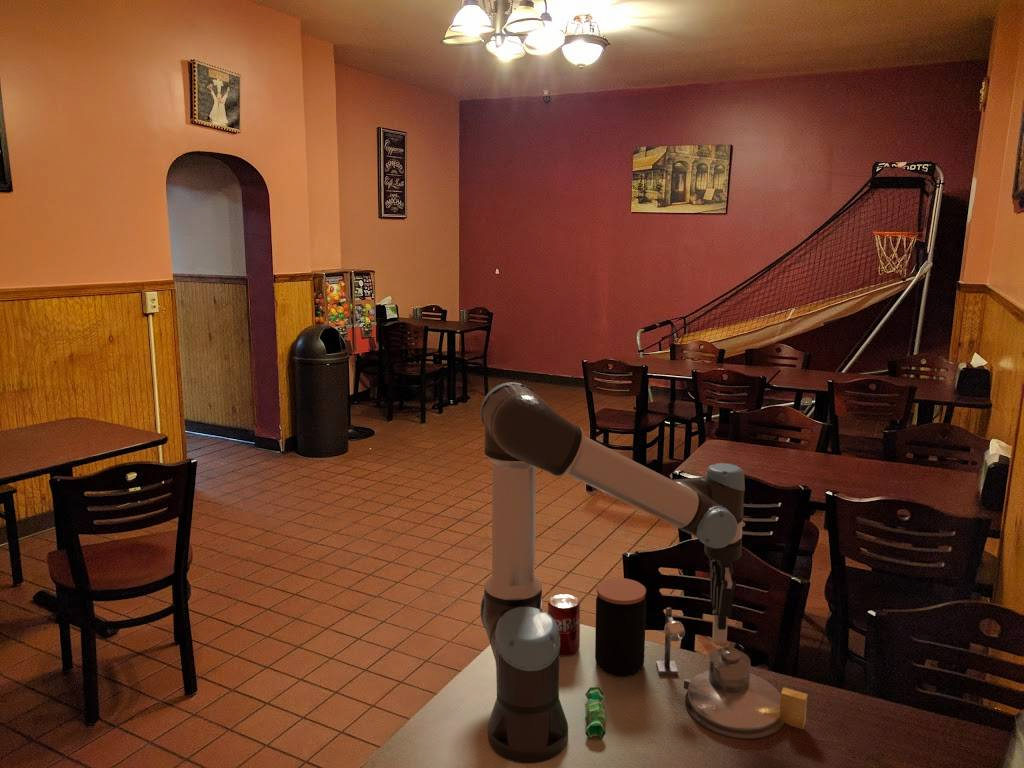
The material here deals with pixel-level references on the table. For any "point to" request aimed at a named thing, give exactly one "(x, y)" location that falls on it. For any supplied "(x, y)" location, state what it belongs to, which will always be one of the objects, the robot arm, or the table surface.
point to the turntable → (746, 705)
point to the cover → (729, 670)
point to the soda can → (566, 622)
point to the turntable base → (728, 733)
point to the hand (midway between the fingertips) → (719, 639)
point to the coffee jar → (620, 626)
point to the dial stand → (672, 633)
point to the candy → (595, 712)
